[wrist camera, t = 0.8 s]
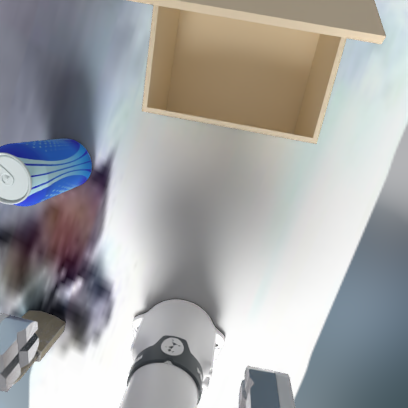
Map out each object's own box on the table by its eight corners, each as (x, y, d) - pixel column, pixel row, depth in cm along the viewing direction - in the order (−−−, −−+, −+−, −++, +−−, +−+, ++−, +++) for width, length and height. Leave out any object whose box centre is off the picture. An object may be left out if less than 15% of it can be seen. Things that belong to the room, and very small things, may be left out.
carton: (295, 138, 47) (316, 143, 36) (163, 113, 48) (141, 111, 36) (329, 11, 42) (366, -31, 30) (180, -15, 43) (161, -64, 31)
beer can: (90, 135, 50) (28, 142, 35) (99, 183, 52) (44, 209, 37) (45, 139, 51) (-36, 147, 36) (55, 186, 53) (-16, 213, 38)
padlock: (29, 307, 61) (-33, 363, 47) (66, 319, 61) (15, 380, 47) (27, 321, 62) (-34, 382, 48) (63, 334, 62) (12, 397, 48)
